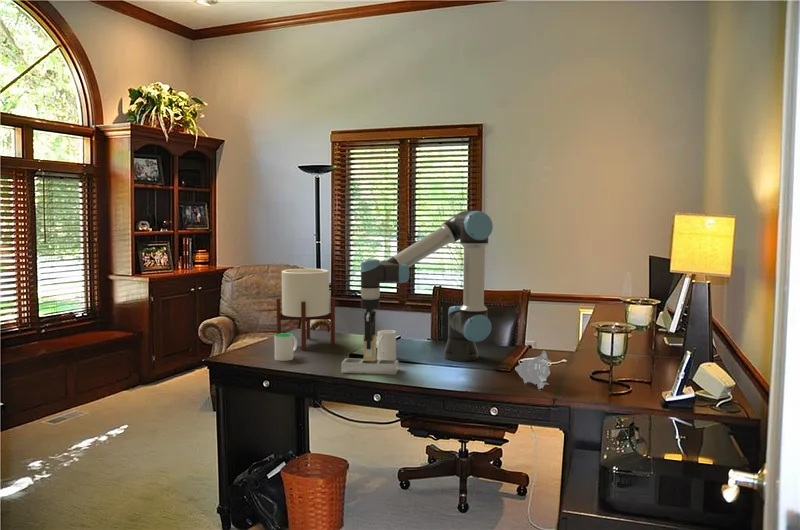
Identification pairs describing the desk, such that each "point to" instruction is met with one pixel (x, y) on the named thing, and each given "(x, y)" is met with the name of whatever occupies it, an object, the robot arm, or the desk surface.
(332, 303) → the plant pot with stand
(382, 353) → the mug
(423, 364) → the desk surface
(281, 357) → the mug
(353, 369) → the grey compartment tray
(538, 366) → the figurine
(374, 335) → the brass block
